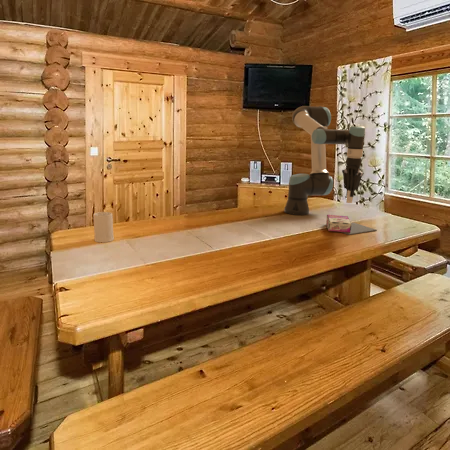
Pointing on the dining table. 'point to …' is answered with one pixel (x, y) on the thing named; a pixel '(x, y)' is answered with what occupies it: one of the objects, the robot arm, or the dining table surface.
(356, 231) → the rubber mat
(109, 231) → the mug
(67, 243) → the dining table surface
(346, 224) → the candy bar box
